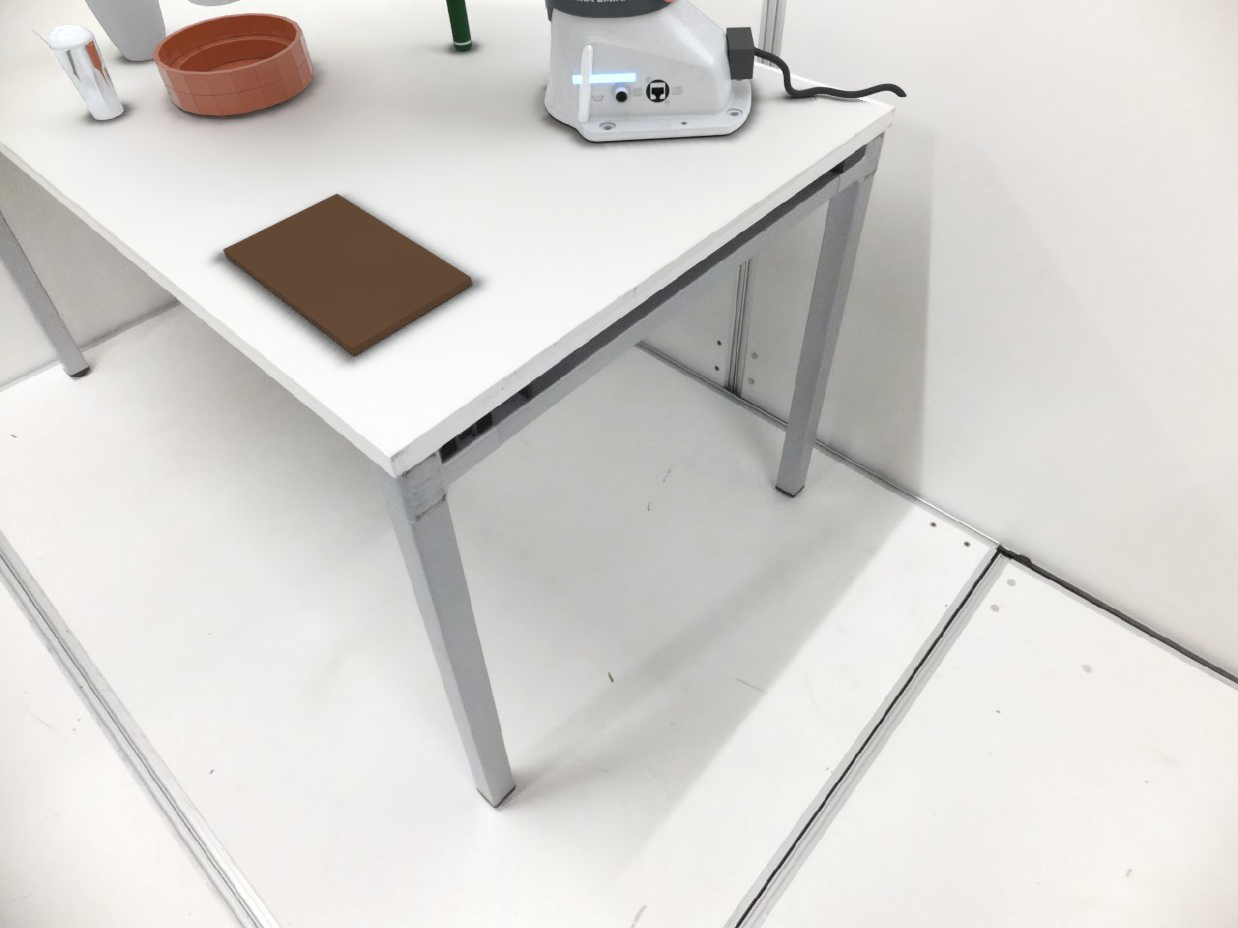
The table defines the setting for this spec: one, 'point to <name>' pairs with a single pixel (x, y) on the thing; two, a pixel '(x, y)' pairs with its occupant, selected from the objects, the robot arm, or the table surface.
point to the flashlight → (459, 24)
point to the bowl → (234, 63)
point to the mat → (347, 272)
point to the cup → (131, 25)
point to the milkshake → (85, 69)
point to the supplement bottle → (212, 2)
